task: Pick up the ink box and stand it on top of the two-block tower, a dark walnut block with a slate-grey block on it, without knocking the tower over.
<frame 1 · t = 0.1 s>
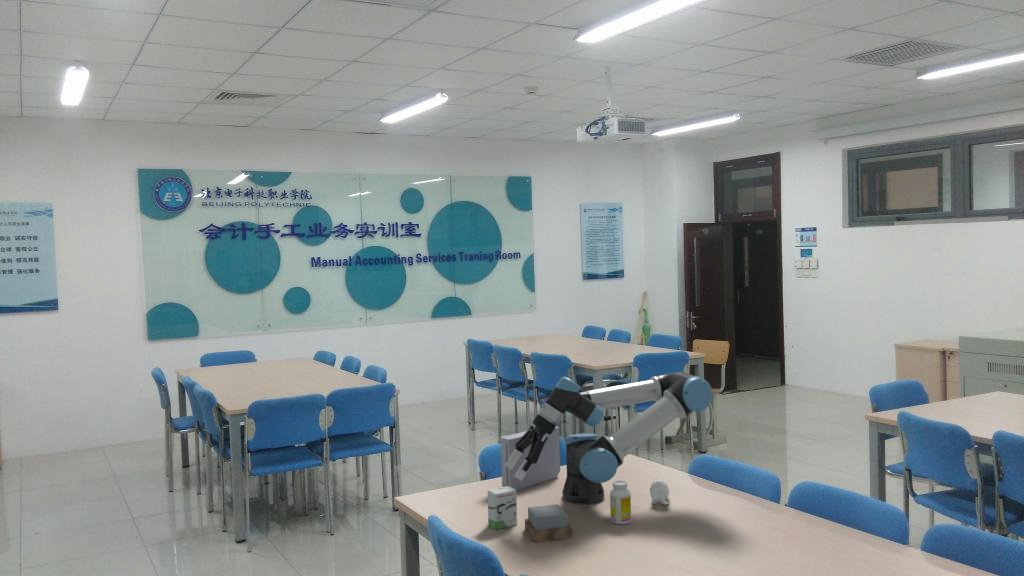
hand: (513, 472, 255), 15 cm above the table, tool tilted 35°, fingers open, 13 cm apart
supplement bottle: (620, 522, 250), on the table
slate-grey top block: (547, 523, 240), point 3 cm above the table, touching walnut base block
ink box: (502, 525, 249), on the table
game console: (530, 483, 295), on the table
white octopus figurine: (661, 501, 269), on the table
walnut base block: (548, 535, 240), on the table, touching slate-grey top block
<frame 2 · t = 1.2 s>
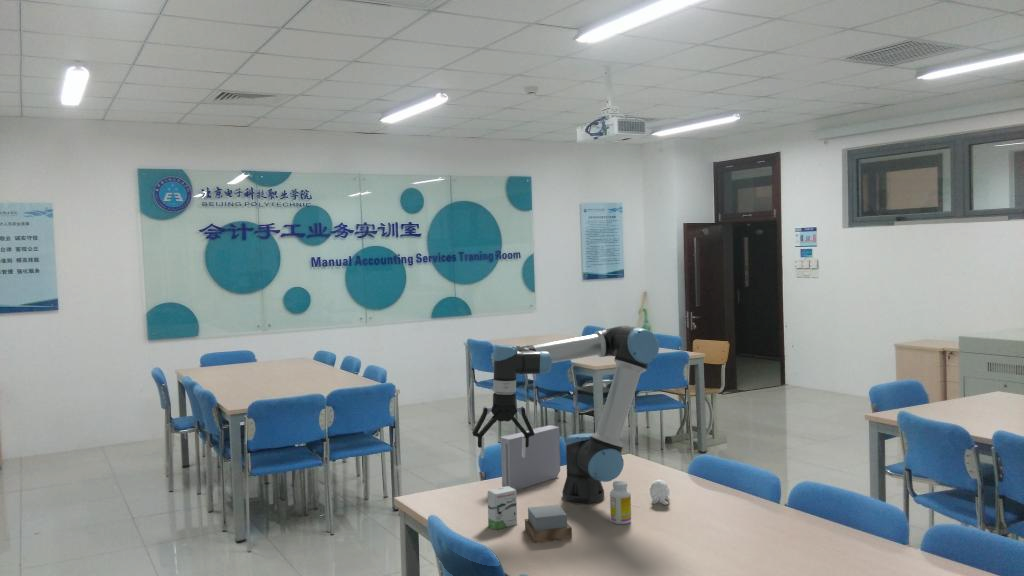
hand: (502, 457, 249), 22 cm above the table, tool pointing down, fingers open, 13 cm apart
nothing on the table moved.
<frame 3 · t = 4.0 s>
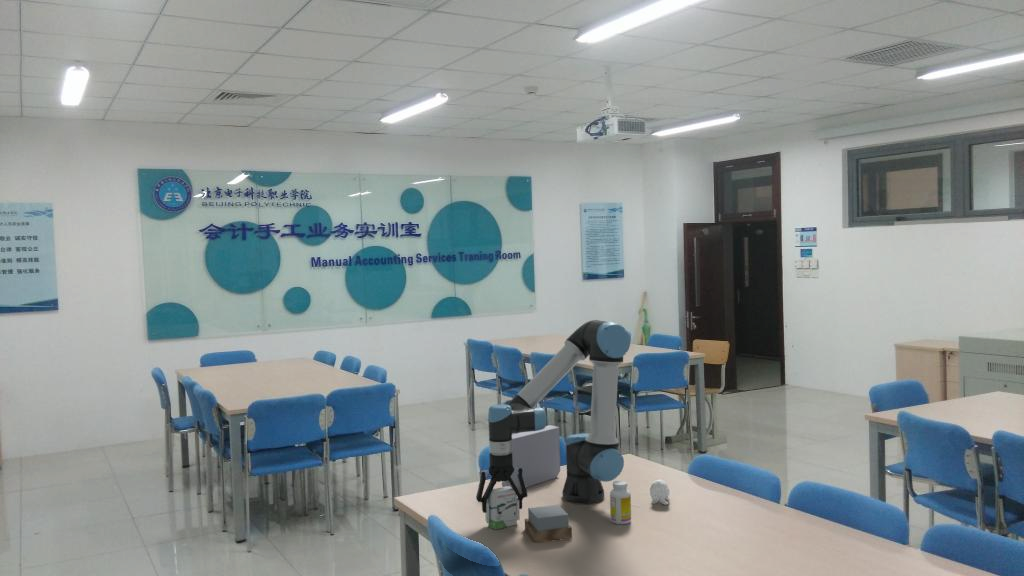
hand: (502, 520, 249), 2 cm above the table, tool pointing down, fingers closed on ink box, 9 cm apart
ink box: (502, 525, 249), on the table, touching gripper
everything else where it was.
when the fingers open (11 cm above the table, at t = 11.4 s): ink box drops 1 cm, resting on slate-grey top block.
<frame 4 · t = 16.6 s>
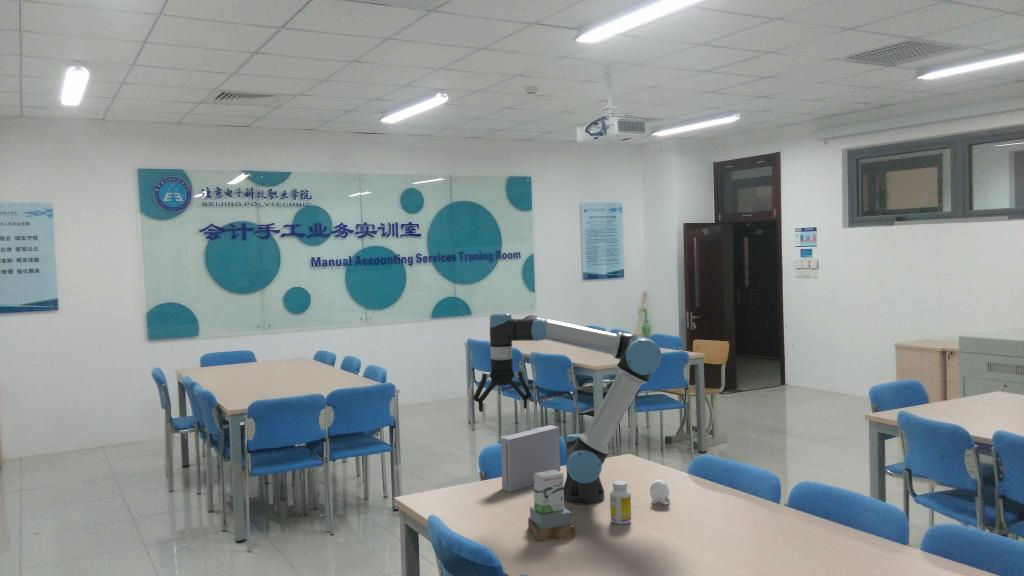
hand: (503, 419, 262), 32 cm above the table, tool pointing down, fingers open, 13 cm apart
slate-grey top block: (550, 522, 241), point 3 cm above the table, touching ink box, walnut base block
ink box: (549, 510, 240), point 7 cm above the table, touching slate-grey top block
walnut base block: (551, 534, 241), on the table, touching slate-grey top block
everything else where it was.
at the end: ink box 0.4 cm off-centre on the slate-grey top block, point 3.8 cm above the slate-grey top block's base; slate-grey top block 0.1 cm off-centre on the walnut base block, point 4.0 cm above the walnut base block's base; ink box tilted 0° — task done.
